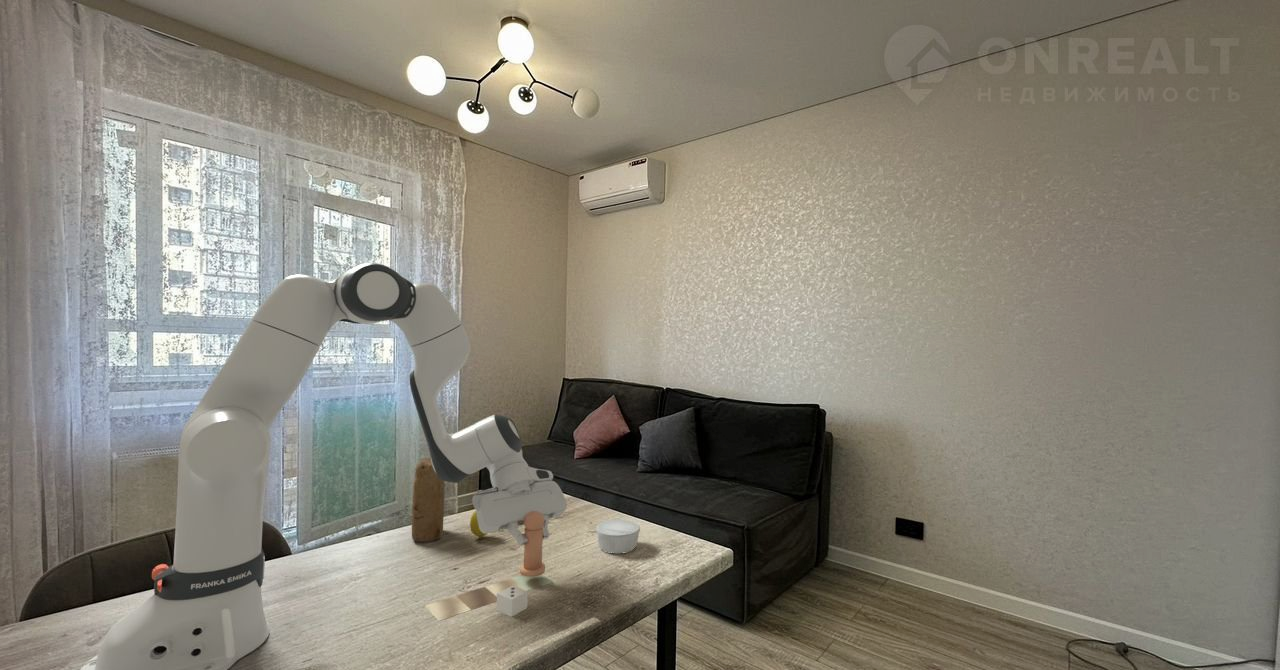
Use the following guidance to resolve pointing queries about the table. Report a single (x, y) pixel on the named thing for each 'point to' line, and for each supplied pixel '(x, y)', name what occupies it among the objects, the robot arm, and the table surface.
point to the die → (512, 600)
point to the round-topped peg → (533, 545)
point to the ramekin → (617, 535)
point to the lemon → (475, 526)
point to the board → (482, 596)
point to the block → (427, 503)
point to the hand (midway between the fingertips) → (535, 540)
